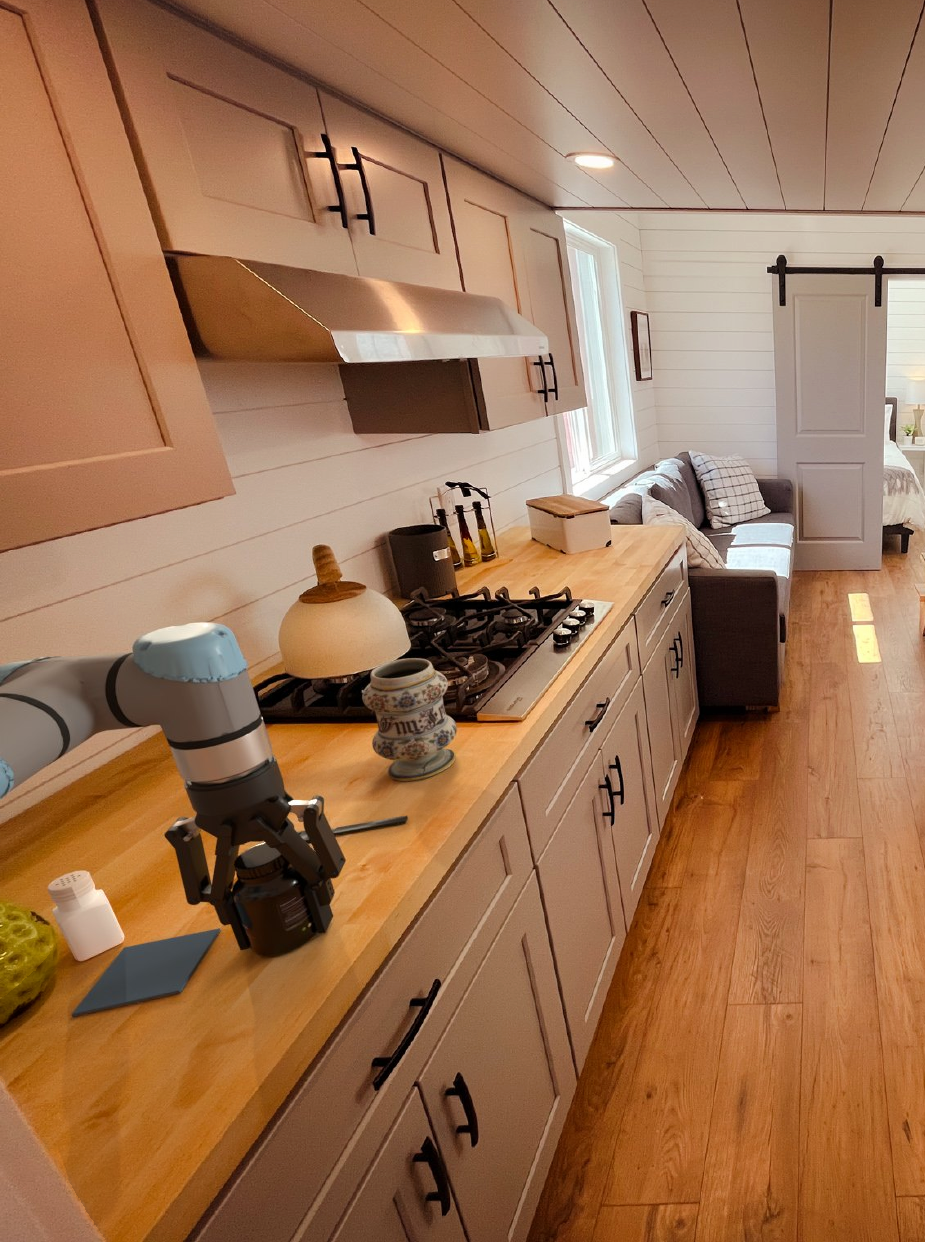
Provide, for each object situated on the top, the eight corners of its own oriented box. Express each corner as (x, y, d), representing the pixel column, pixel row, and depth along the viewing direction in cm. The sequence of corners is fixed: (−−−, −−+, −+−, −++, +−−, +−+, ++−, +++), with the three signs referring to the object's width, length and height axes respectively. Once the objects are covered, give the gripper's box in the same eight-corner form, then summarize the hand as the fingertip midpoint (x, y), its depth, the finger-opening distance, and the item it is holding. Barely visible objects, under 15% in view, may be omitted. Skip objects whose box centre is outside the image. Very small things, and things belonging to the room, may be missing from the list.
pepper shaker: (119, 926, 81) (89, 862, 78) (127, 942, 79) (97, 877, 75) (70, 948, 78) (38, 883, 75) (78, 965, 76) (45, 898, 72)
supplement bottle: (236, 955, 77) (203, 871, 73) (289, 911, 84) (261, 831, 79) (289, 963, 76) (259, 878, 72) (339, 917, 83) (314, 836, 79)
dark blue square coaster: (72, 1017, 70) (70, 1014, 70) (125, 949, 78) (124, 947, 78) (180, 993, 73) (179, 990, 72) (220, 930, 81) (219, 928, 80)
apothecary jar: (479, 751, 118) (460, 657, 112) (423, 790, 107) (399, 689, 101) (421, 741, 121) (400, 649, 115) (362, 779, 110) (335, 679, 104)
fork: (265, 850, 94) (264, 847, 94) (272, 838, 96) (271, 835, 96) (404, 826, 99) (404, 823, 99) (408, 815, 101) (408, 812, 101)
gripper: (349, 734, 78) (392, 891, 86) (133, 763, 72) (201, 929, 80) (326, 768, 71) (376, 935, 80) (86, 804, 65) (166, 981, 73)
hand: (288, 932), depth 80 cm, fingers closed on supplement bottle, 7 cm apart
